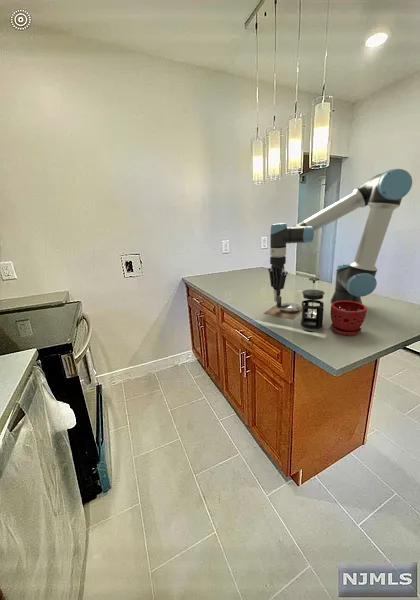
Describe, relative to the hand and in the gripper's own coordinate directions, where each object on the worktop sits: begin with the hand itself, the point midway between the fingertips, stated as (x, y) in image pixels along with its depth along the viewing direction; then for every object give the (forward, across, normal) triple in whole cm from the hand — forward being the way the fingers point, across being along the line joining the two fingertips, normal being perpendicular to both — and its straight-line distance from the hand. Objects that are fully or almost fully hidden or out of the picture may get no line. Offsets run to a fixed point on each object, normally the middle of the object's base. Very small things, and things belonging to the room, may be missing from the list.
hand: (276, 301), depth 130 cm
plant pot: (+7, +33, +12) cm, 35 cm away
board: (+7, +2, +4) cm, 8 cm away
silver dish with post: (+5, +2, +5) cm, 8 cm away
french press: (+7, +23, +2) cm, 24 cm away
